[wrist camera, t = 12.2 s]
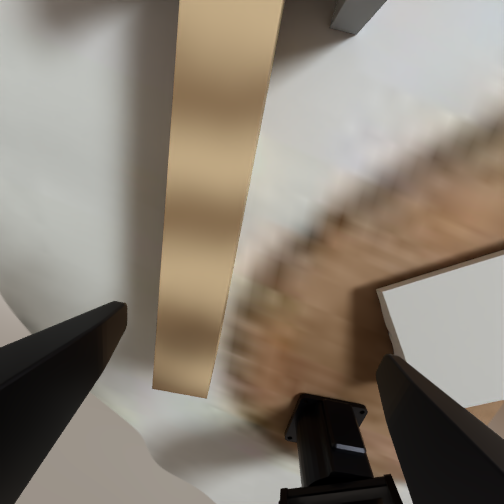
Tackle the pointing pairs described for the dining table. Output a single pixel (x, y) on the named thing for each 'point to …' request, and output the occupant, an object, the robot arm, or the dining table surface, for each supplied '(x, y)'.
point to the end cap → (354, 14)
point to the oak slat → (209, 177)
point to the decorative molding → (452, 327)
